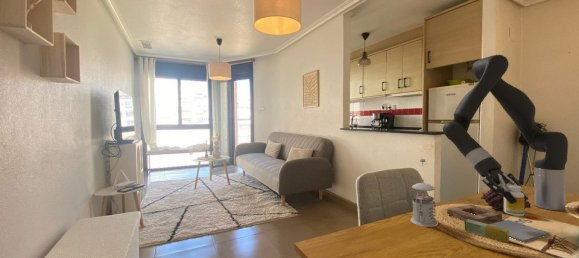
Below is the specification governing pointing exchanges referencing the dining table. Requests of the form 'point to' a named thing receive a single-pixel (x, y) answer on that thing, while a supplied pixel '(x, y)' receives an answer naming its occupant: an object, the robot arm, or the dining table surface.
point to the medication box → (487, 230)
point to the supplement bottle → (517, 206)
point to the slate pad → (521, 231)
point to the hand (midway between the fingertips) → (520, 201)
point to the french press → (423, 206)
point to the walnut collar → (480, 214)
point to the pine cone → (498, 200)
